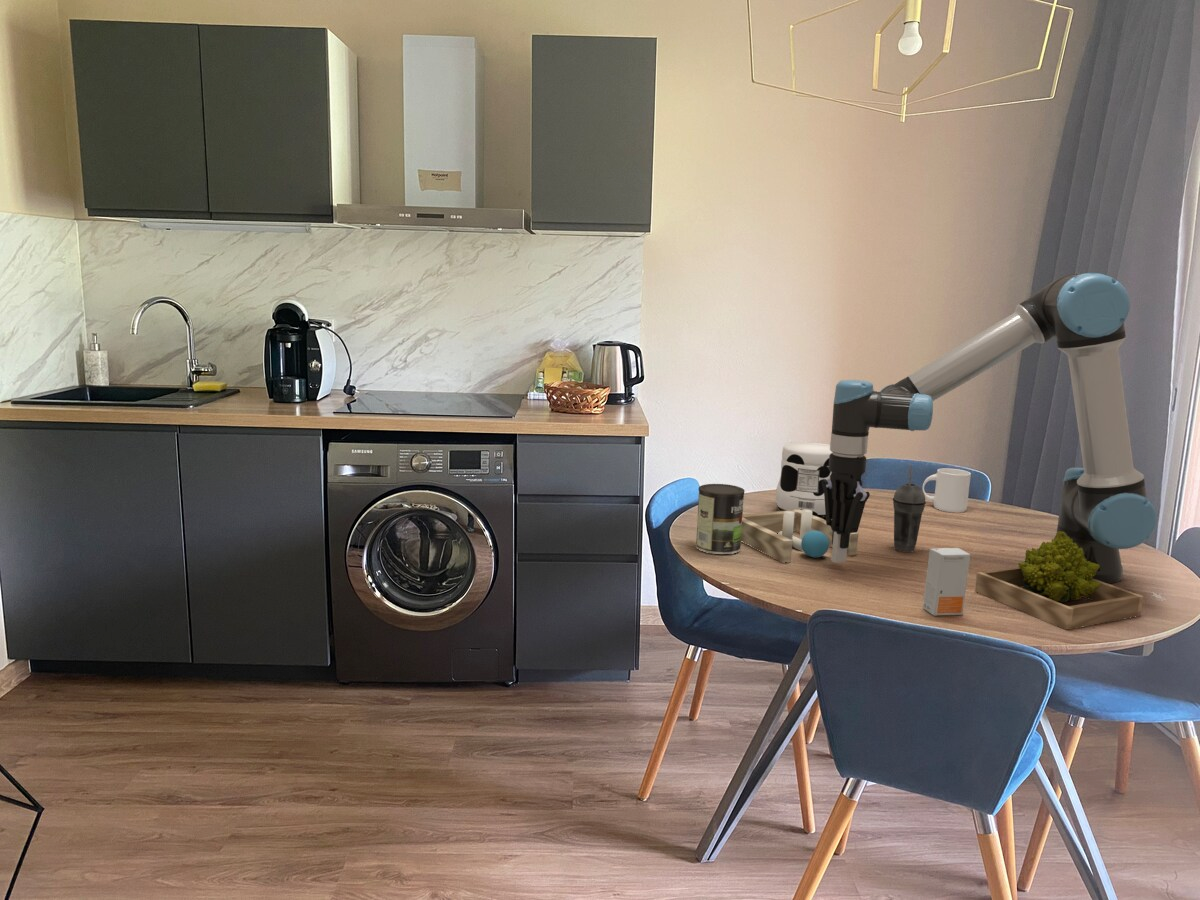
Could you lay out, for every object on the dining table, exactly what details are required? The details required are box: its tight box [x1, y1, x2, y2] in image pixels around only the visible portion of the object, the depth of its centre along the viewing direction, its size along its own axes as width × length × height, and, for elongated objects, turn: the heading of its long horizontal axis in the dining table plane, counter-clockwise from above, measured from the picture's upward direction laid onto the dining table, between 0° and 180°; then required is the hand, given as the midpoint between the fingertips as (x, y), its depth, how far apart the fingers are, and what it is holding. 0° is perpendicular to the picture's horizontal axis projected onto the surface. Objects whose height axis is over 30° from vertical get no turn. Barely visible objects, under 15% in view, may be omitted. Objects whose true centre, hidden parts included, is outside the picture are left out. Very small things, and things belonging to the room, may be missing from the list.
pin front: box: [778, 531, 803, 552], centre depth 203 cm, size 2×2×8 cm
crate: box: [974, 566, 1144, 630], centre depth 171 cm, size 21×20×4 cm
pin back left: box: [782, 511, 794, 540], centre depth 201 cm, size 2×2×8 cm
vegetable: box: [1017, 531, 1101, 603], centre depth 172 cm, size 15×16×15 cm
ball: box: [801, 531, 830, 559], centre depth 195 cm, size 6×6×6 cm
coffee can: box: [695, 483, 746, 555], centre depth 198 cm, size 10×10×14 cm
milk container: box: [775, 441, 833, 518], centre depth 232 cm, size 17×17×18 cm
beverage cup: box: [892, 465, 927, 553], centre depth 202 cm, size 7×7×20 cm
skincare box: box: [922, 547, 971, 617], centre depth 163 cm, size 6×4×12 cm
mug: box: [922, 467, 972, 513], centre depth 243 cm, size 9×12×11 cm
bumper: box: [741, 509, 859, 564], centre depth 203 cm, size 22×20×5 cm
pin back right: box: [799, 509, 812, 540], centre depth 203 cm, size 2×2×8 cm
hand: (838, 561), depth 188 cm, fingers closed
